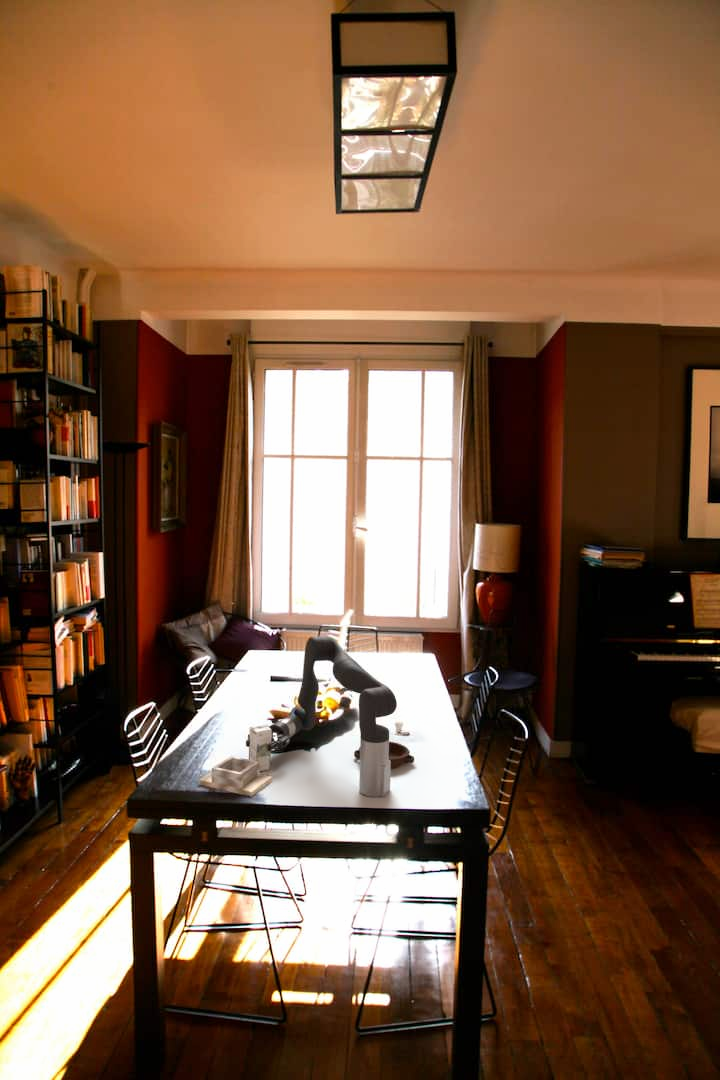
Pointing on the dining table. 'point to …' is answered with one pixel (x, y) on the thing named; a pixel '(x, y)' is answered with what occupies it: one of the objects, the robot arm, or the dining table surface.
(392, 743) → the dish
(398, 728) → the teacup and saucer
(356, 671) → the robot arm
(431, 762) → the dining table surface
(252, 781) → the collar board
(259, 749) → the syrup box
